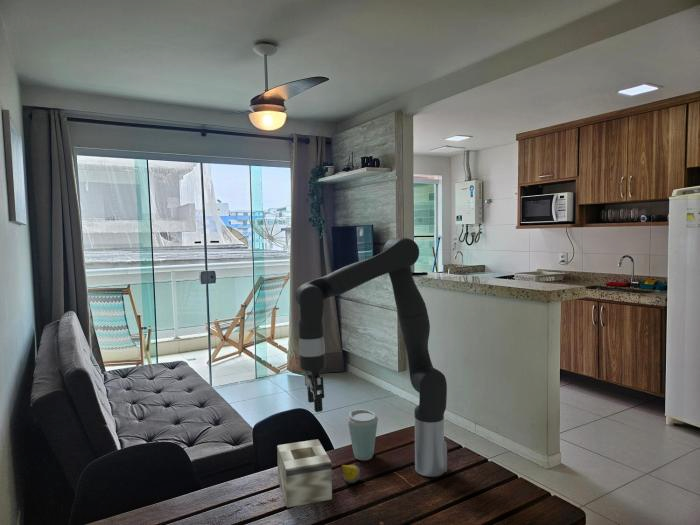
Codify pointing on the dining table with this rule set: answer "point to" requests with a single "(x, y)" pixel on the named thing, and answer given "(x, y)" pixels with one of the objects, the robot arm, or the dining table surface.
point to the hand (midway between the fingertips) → (315, 406)
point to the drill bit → (351, 473)
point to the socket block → (304, 473)
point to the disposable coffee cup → (362, 432)
